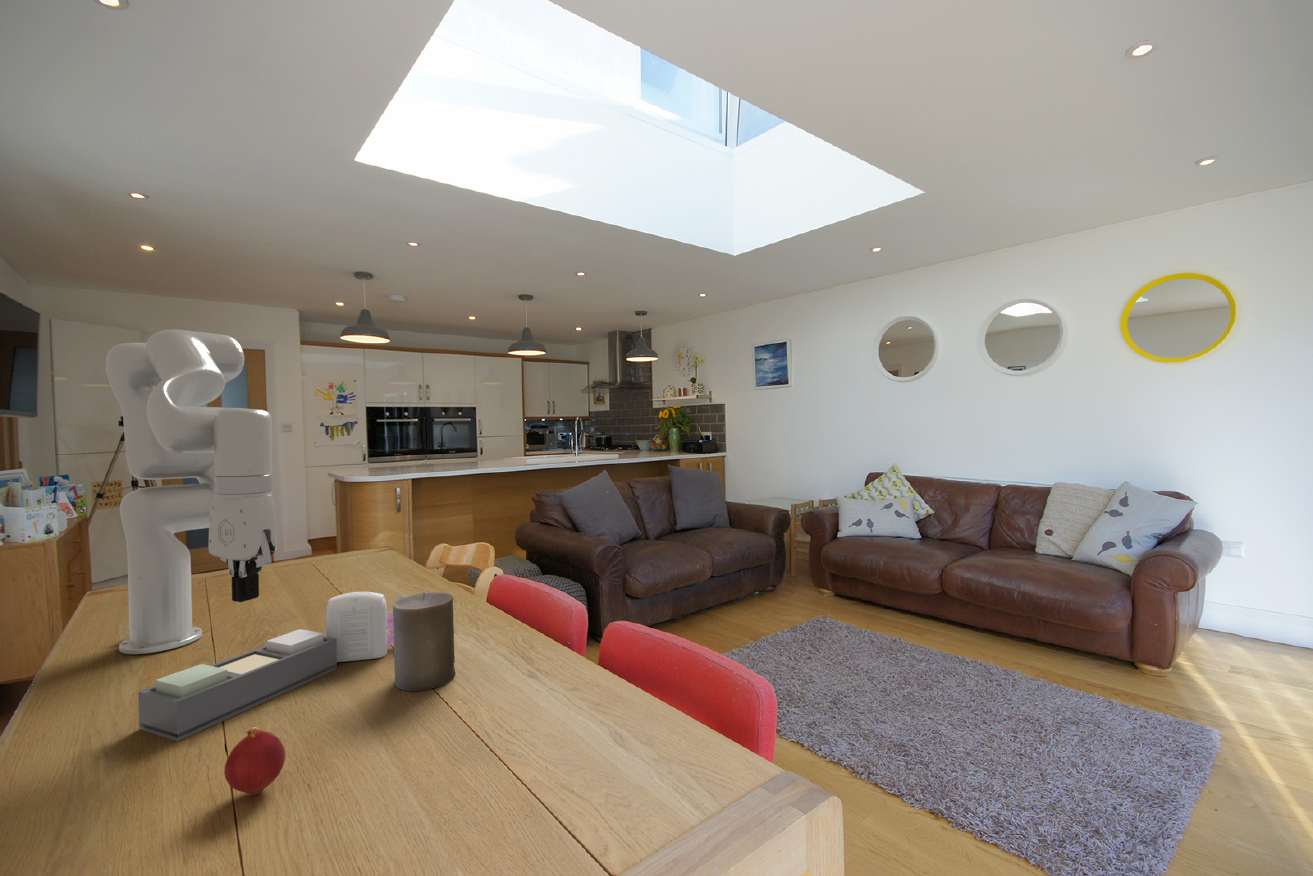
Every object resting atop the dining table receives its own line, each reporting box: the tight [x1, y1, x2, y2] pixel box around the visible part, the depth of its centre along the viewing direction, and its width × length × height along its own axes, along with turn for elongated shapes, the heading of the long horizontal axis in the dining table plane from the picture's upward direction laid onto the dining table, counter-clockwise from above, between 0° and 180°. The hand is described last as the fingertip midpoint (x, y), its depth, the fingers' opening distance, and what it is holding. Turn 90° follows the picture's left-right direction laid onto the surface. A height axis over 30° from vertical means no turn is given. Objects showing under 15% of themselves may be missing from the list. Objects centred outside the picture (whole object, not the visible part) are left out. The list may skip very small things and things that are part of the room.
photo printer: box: [325, 591, 388, 663], centre depth 106 cm, size 10×4×12 cm, turn 106°
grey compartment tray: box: [137, 636, 338, 742], centre depth 91 cm, size 9×25×6 cm, turn 159°
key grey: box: [266, 628, 325, 655], centre depth 99 cm, size 6×6×4 cm
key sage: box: [155, 663, 227, 698], centre depth 84 cm, size 6×6×4 cm
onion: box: [223, 726, 286, 796], centre depth 67 cm, size 6×6×8 cm
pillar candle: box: [392, 591, 456, 692], centre depth 97 cm, size 10×10×15 cm
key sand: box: [219, 654, 279, 675], centre depth 91 cm, size 6×6×4 cm
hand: (245, 599), depth 91 cm, fingers closed
